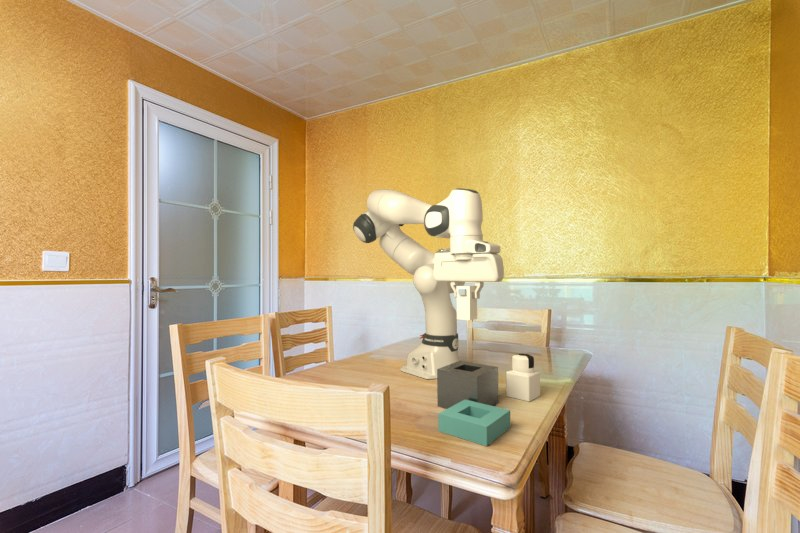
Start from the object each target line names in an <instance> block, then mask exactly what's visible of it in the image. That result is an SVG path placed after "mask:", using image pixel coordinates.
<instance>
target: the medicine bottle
mask: <svg viewBox="0 0 800 533" xmlns="http://www.w3.org/2000/svg"><path fill="white" fill-rule="evenodd" d="M511 368H512V369H510V370H507V371H506V372H505V383H506V384H505V389H506V391H505V392H506V393H505V394H506V397H508V398H512V399H517V400H520V401H524V402H531V401H533V400H535V399H537V398H540V397H541V372H540V371H538V370H535V358H534V356H533V355H531V354H528V353H515V354H513V355H512V356H511Z"/></svg>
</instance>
